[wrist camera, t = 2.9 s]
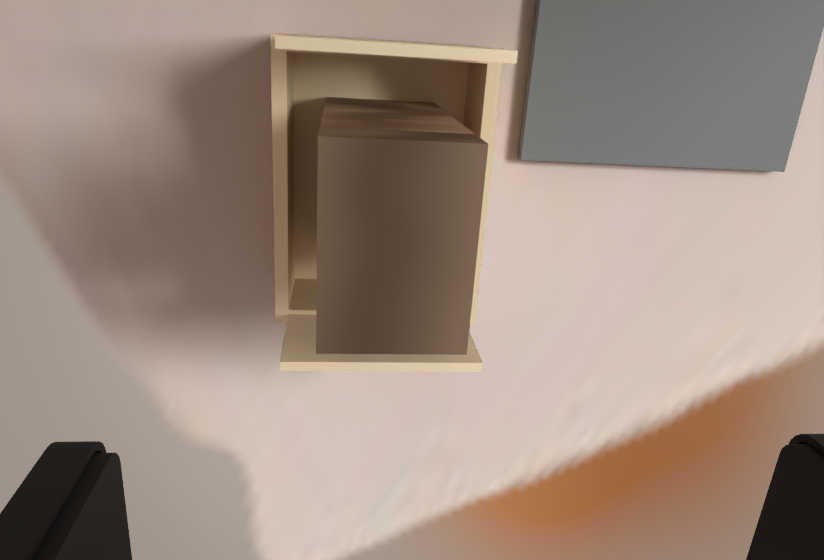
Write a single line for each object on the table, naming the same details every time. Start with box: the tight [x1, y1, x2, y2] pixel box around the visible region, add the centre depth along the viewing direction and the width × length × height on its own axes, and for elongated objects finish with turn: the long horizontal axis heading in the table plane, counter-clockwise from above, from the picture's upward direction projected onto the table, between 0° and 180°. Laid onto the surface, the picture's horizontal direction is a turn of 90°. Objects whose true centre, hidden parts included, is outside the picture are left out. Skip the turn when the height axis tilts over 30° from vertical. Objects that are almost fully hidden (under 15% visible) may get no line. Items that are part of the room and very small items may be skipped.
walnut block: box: [316, 97, 488, 355], centre depth 25 cm, size 5×7×12 cm
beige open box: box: [270, 34, 518, 372], centre depth 27 cm, size 9×12×9 cm
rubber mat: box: [518, 0, 824, 172], centre depth 30 cm, size 14×14×1 cm
